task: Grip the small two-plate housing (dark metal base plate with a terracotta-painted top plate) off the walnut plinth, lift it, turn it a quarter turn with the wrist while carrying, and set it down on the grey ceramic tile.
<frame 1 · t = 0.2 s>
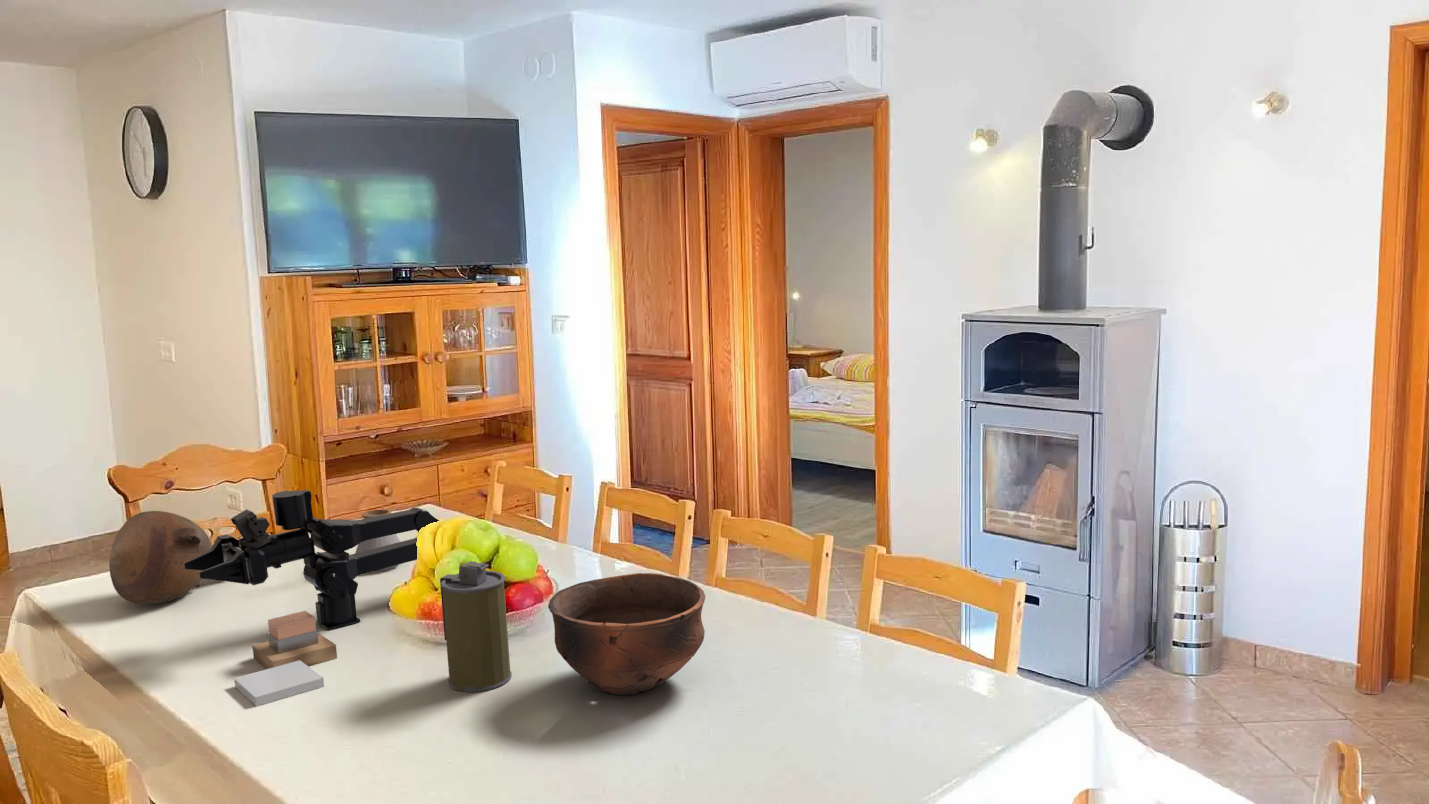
hand: (192, 570, 192), 17 cm above the table, fingers open, 9 cm apart
bowl: (631, 685, 176), on the table
walnut plinth: (295, 658, 193), on the table
jug: (184, 594, 234), on the table
housing: (293, 645, 192), point 2 cm above the table, touching walnut plinth
ceramic tile: (279, 686, 180), on the table
coffee pot: (363, 573, 244), on the table
canister: (479, 680, 180), on the table
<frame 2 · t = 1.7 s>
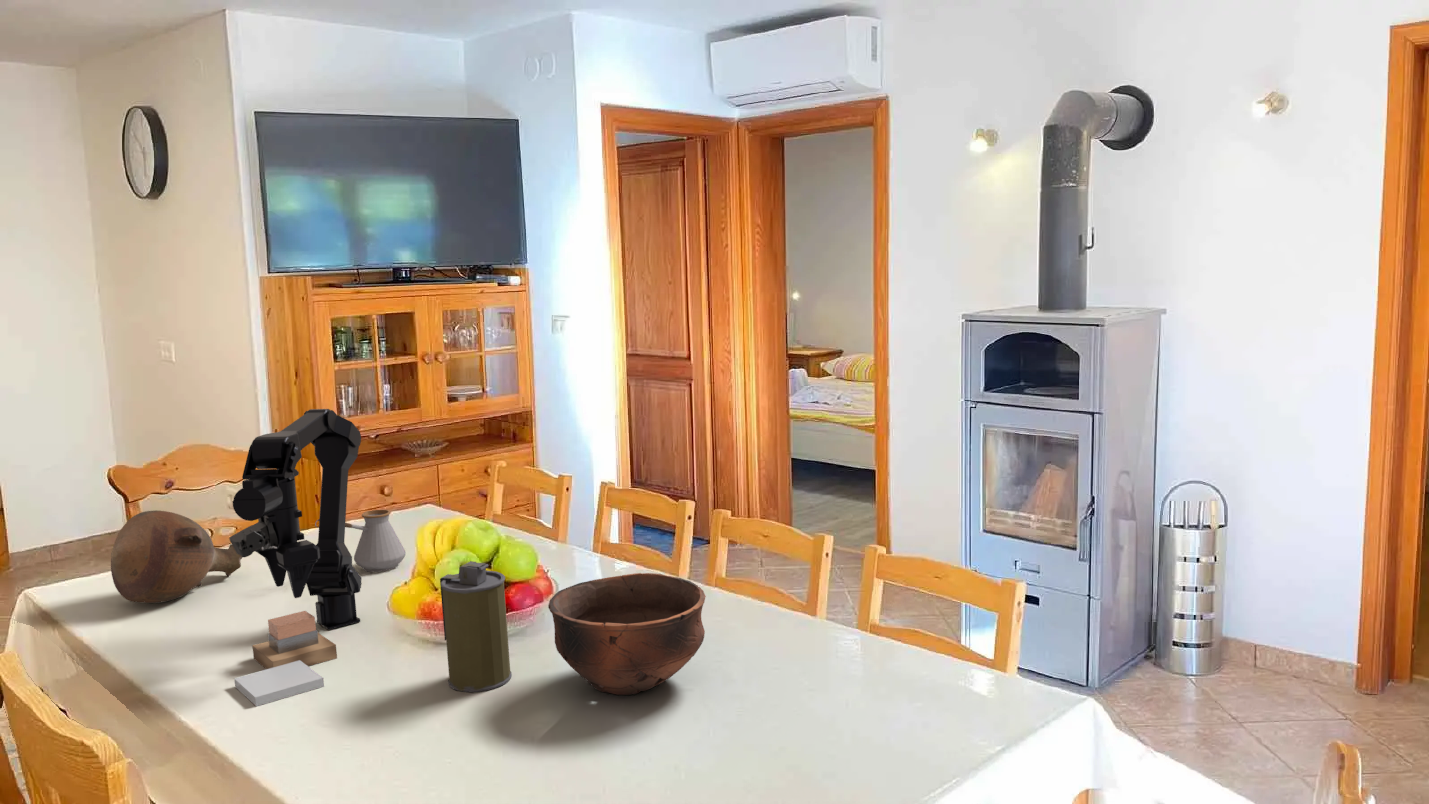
hand: (288, 591, 191), 12 cm above the table, fingers open, 9 cm apart
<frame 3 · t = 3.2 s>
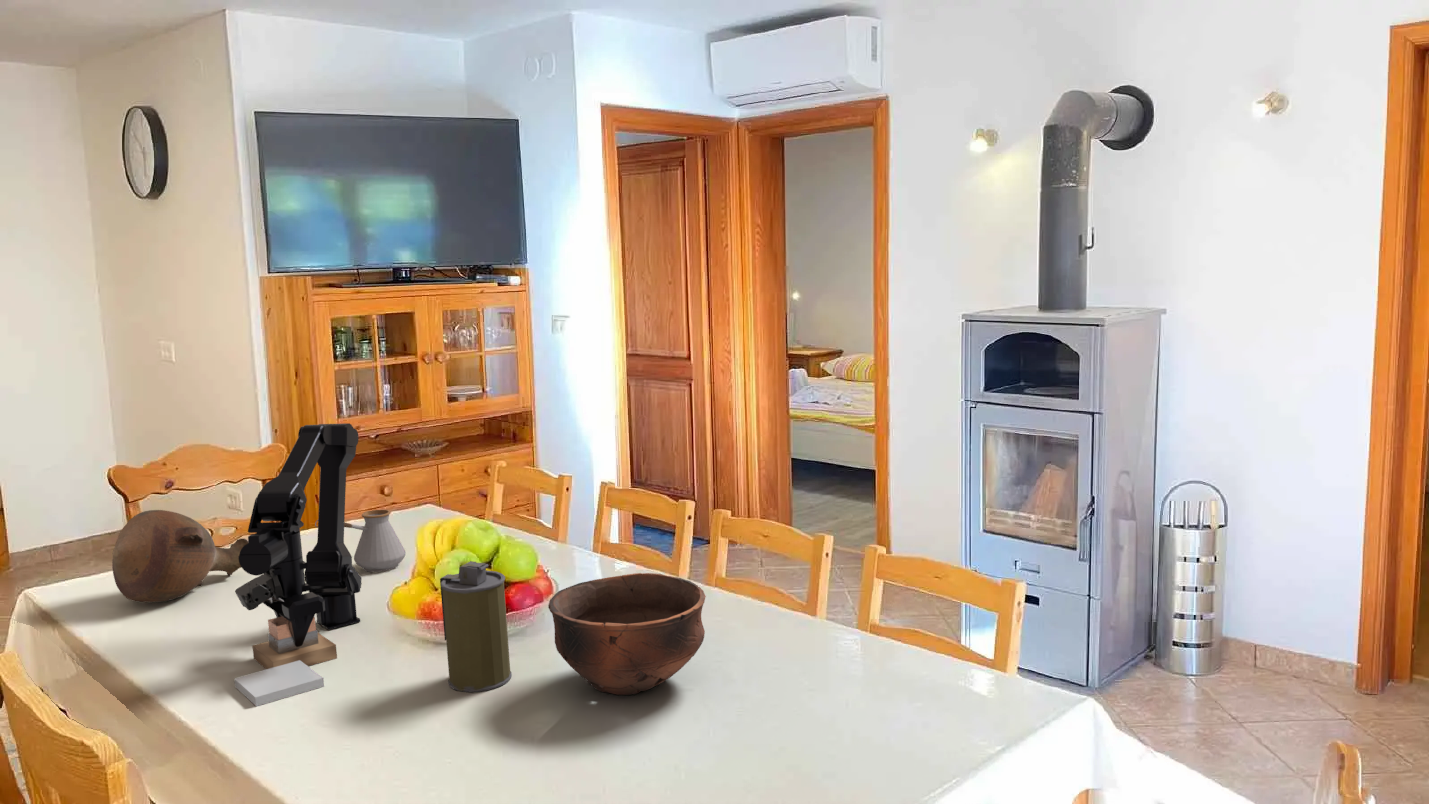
hand: (293, 642, 192), 3 cm above the table, fingers closed on housing, 5 cm apart
housing: (293, 645, 192), point 2 cm above the table, touching gripper, walnut plinth
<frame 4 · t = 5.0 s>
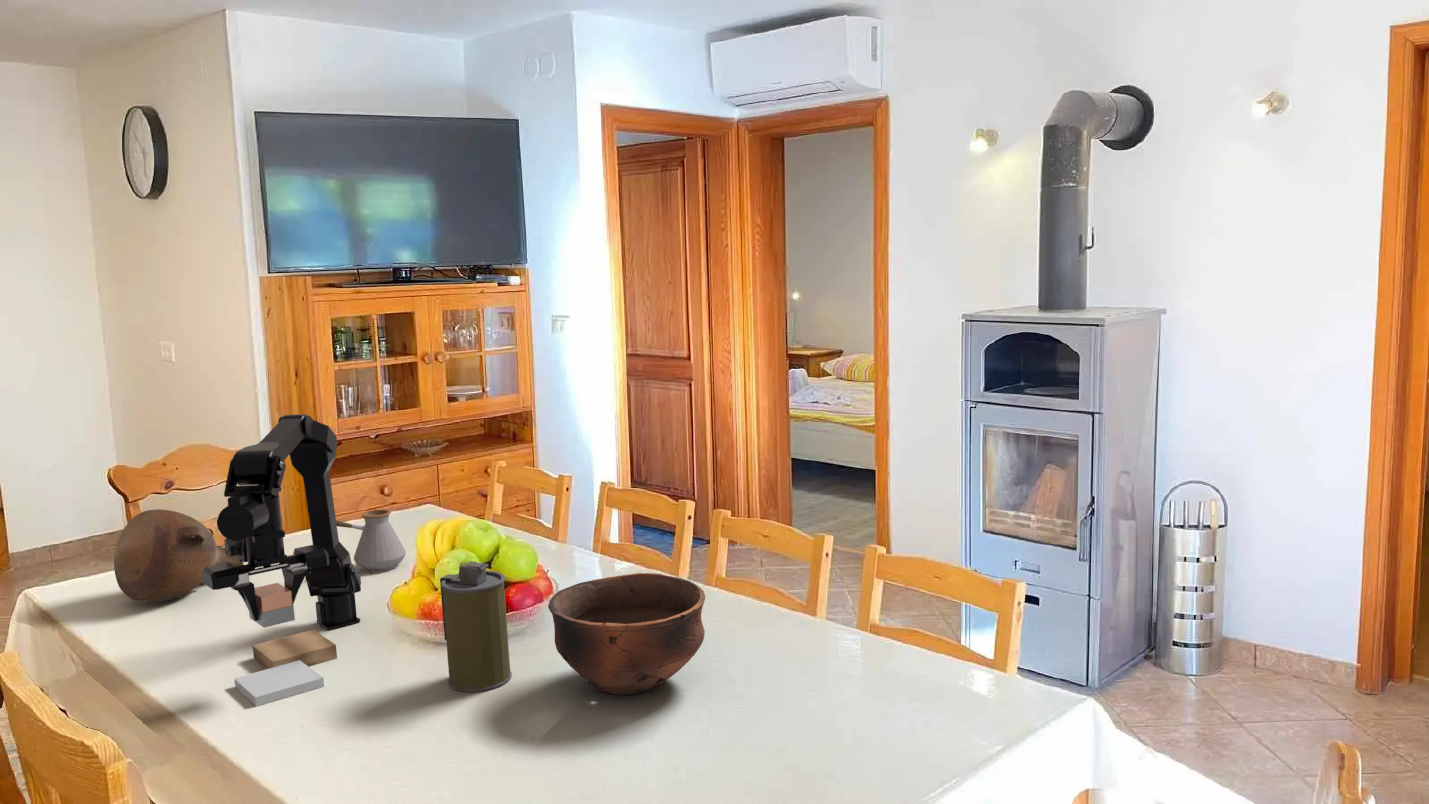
hand: (272, 616, 179), 12 cm above the table, fingers closed on housing, 5 cm apart
housing: (272, 619, 179), point 12 cm above the table, touching gripper
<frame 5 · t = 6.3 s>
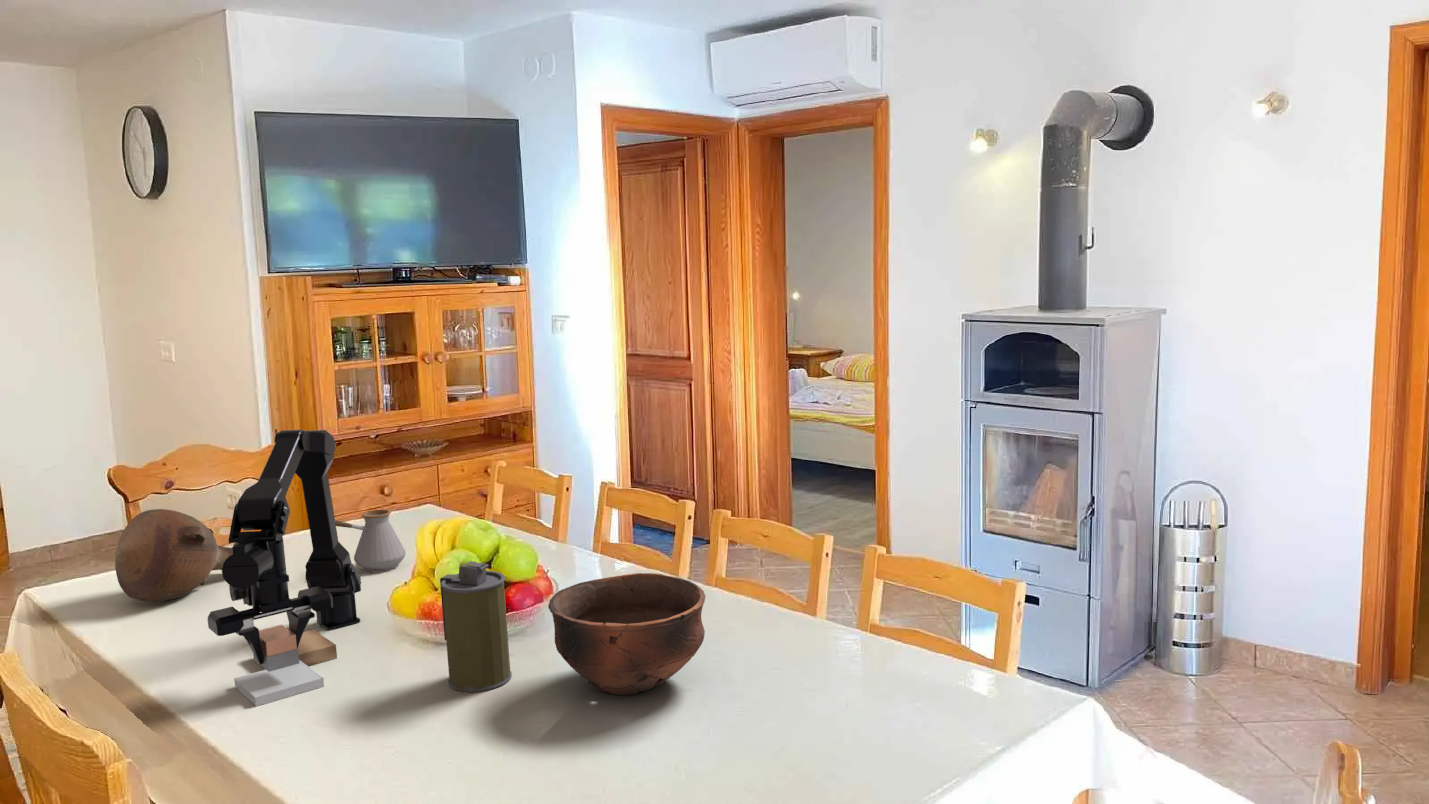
hand: (276, 659, 180), 5 cm above the table, fingers closed on housing, 5 cm apart
housing: (277, 661, 180), point 4 cm above the table, touching gripper
when the fingers open (3 cm above the table, at t = 7.1 s): housing drops 1 cm, resting on ceramic tile.
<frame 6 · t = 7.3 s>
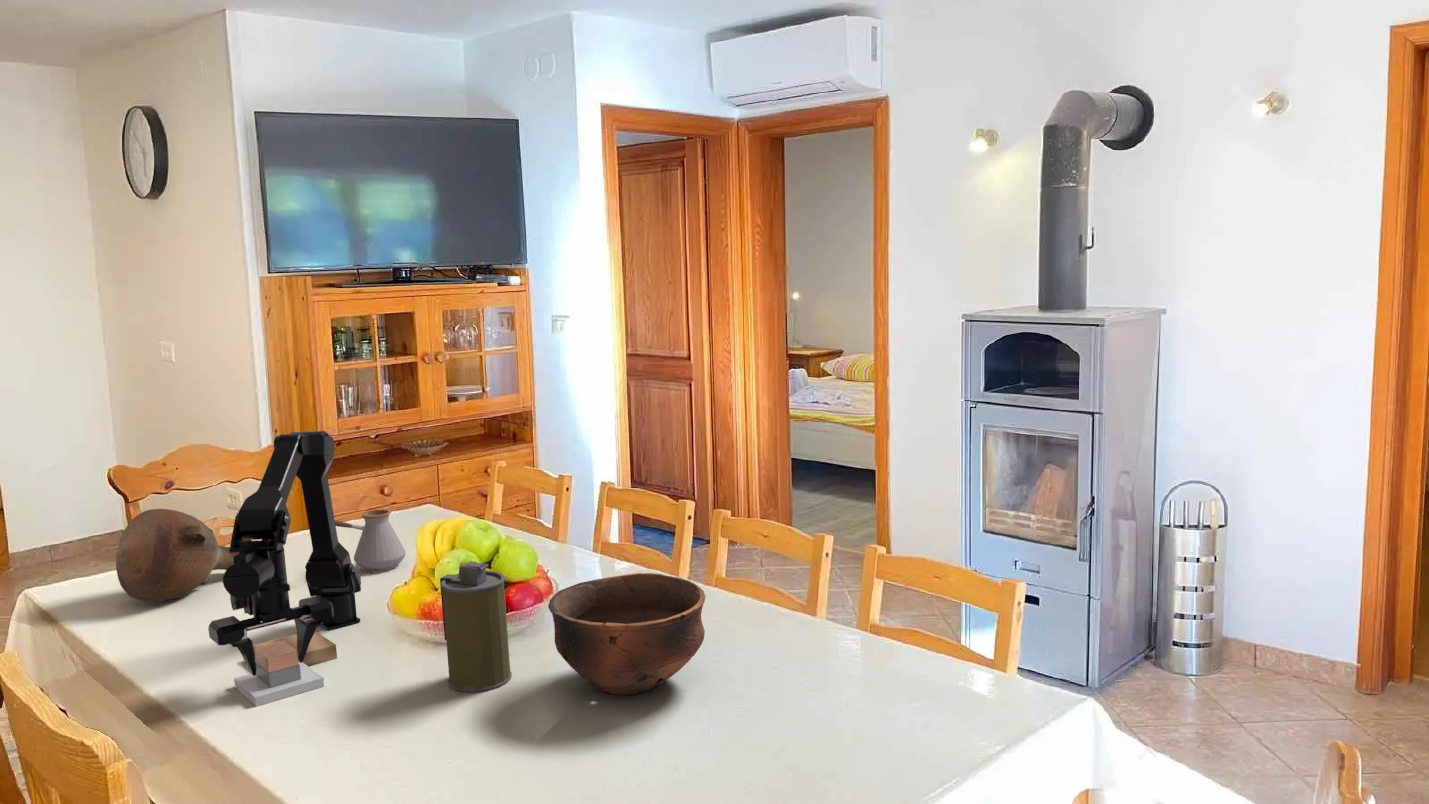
hand: (277, 668, 180), 3 cm above the table, fingers open, 7 cm apart
housing: (278, 677, 180), point 1 cm above the table, touching ceramic tile
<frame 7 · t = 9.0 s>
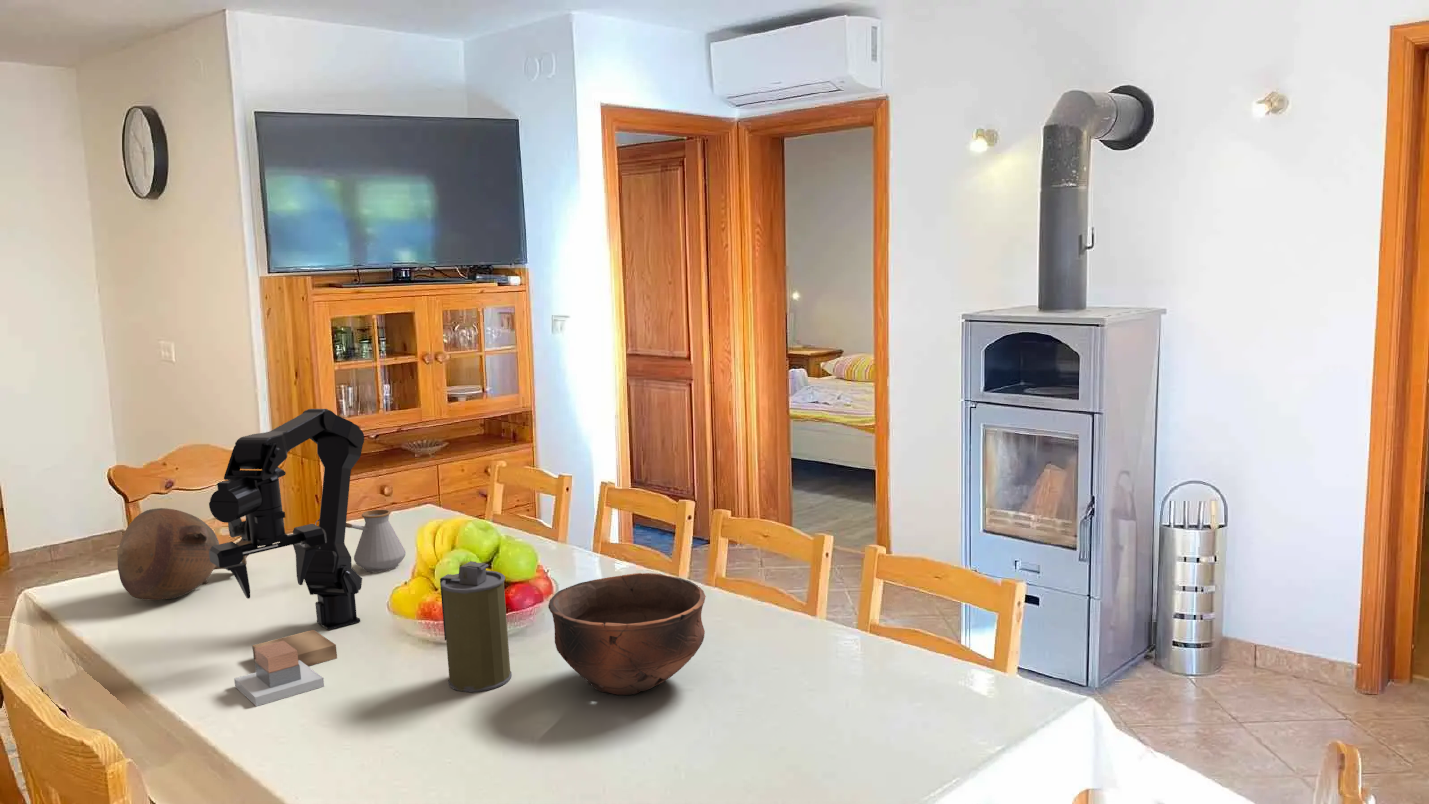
hand: (274, 591, 192), 12 cm above the table, fingers open, 9 cm apart
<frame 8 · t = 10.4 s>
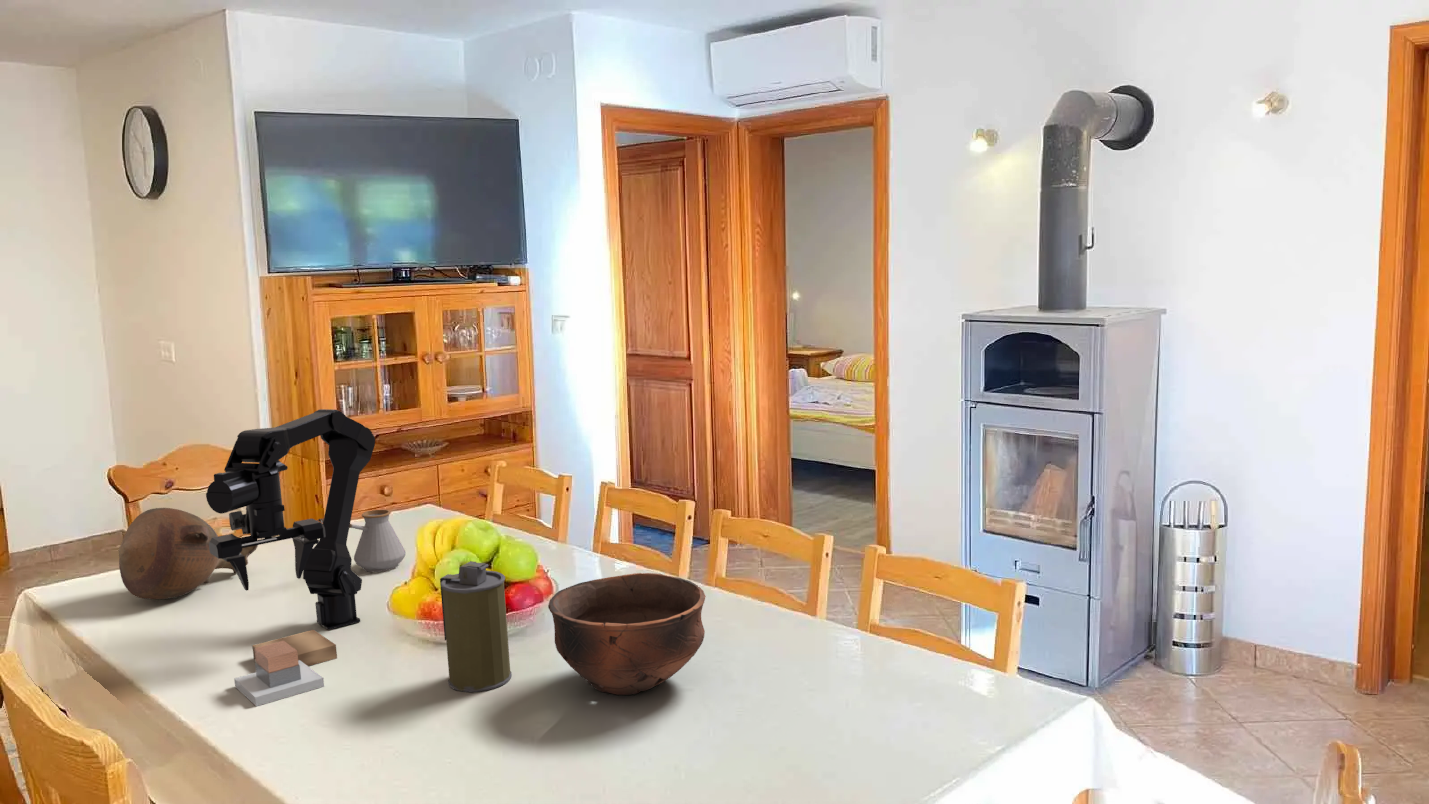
hand: (273, 584, 194), 13 cm above the table, fingers open, 9 cm apart
at the end: housing inside the target area on the ceramic tile (0.1 cm from its centre), point 1.5 cm above the ceramic tile's base; housing tilted 0°; the gripper is holding nothing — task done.
